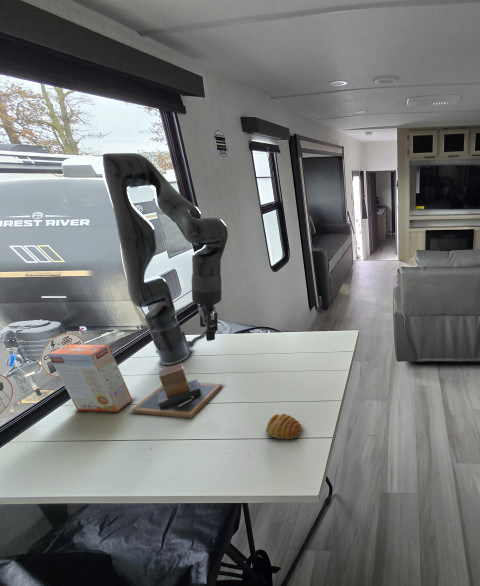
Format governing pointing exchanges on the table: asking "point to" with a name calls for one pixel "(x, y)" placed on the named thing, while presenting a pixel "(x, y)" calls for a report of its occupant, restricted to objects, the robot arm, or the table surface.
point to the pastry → (283, 427)
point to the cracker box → (91, 377)
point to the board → (178, 403)
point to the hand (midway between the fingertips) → (207, 332)
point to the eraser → (176, 386)
